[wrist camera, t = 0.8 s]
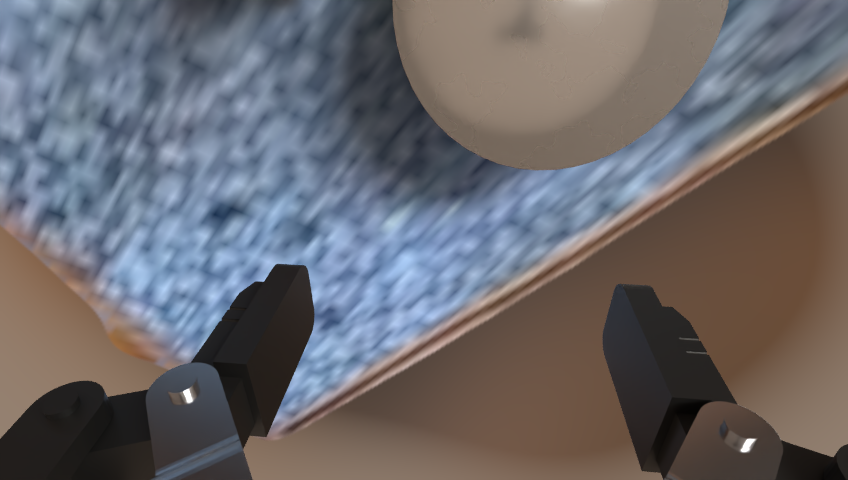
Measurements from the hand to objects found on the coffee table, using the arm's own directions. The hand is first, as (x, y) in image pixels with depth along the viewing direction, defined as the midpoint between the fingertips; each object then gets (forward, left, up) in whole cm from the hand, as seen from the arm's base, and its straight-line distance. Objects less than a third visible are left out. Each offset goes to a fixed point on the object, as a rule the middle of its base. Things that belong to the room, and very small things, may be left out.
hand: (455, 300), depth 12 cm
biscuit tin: (+2, +9, -20) cm, 22 cm away
